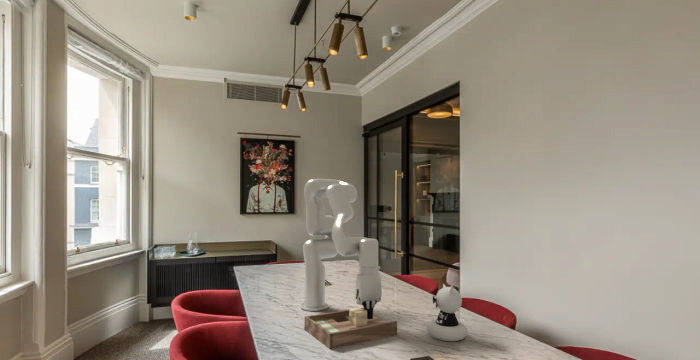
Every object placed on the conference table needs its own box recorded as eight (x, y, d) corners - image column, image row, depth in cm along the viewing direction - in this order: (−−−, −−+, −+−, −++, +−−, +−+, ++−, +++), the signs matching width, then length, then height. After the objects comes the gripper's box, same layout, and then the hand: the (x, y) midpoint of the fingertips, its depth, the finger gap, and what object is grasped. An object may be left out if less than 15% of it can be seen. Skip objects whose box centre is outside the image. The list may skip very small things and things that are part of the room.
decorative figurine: (422, 329, 150) (422, 277, 151) (458, 329, 152) (458, 277, 153) (433, 343, 136) (433, 286, 137) (473, 343, 137) (473, 285, 138)
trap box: (304, 329, 149) (304, 316, 149) (366, 319, 163) (366, 307, 163) (330, 349, 130) (330, 334, 130) (397, 335, 144) (397, 321, 144)
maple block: (349, 322, 148) (349, 309, 148) (360, 320, 151) (360, 307, 151) (355, 326, 144) (355, 313, 144) (367, 324, 146) (367, 311, 147)
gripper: (379, 267, 158) (379, 313, 157) (347, 270, 151) (347, 318, 149) (389, 270, 152) (390, 317, 150) (357, 273, 144) (357, 323, 143)
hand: (368, 318), depth 150 cm, fingers closed
